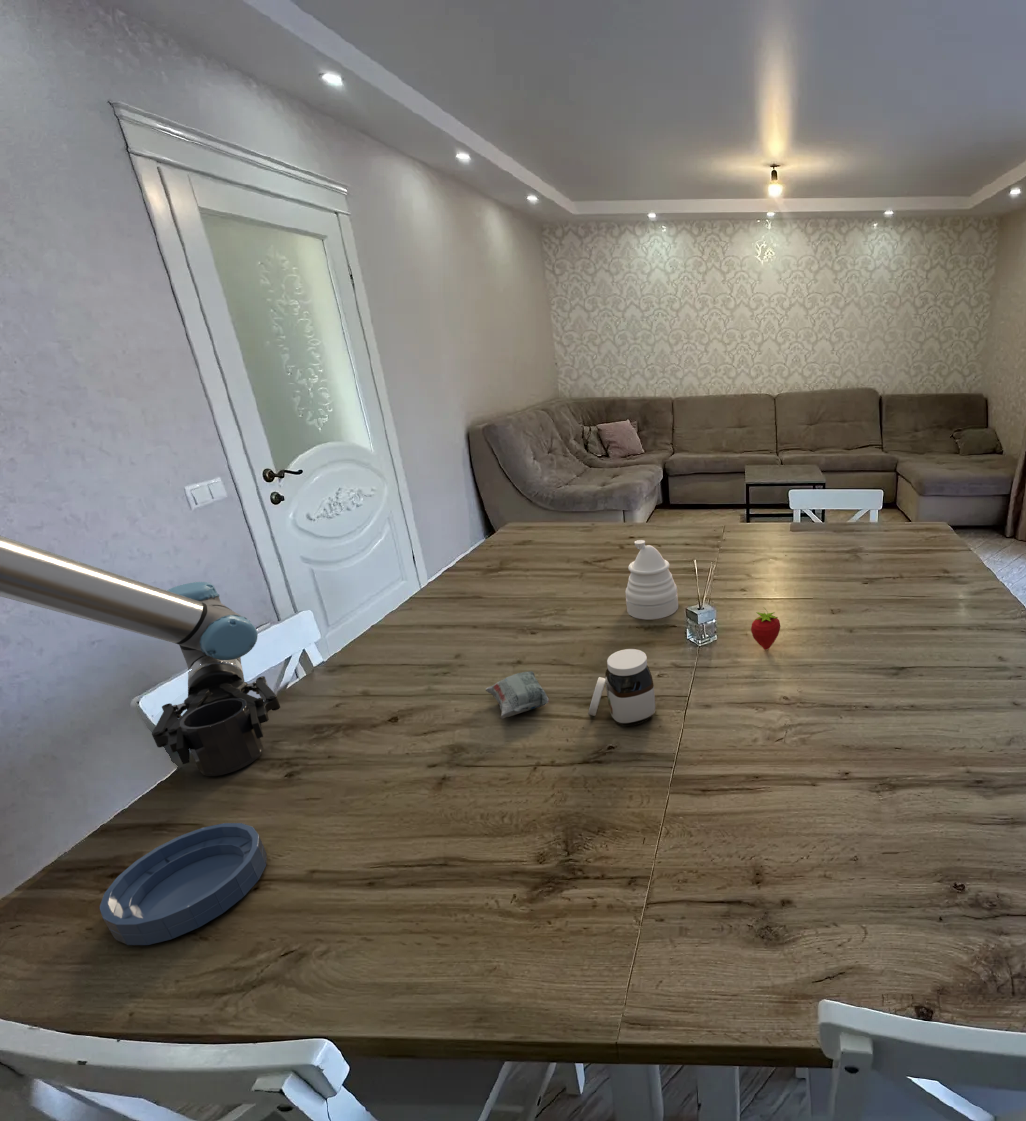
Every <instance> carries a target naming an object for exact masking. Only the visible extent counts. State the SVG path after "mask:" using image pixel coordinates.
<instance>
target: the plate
mask: <svg viewBox="0 0 1026 1121" xmlns="http://www.w3.org/2000/svg"><path fill="white" fill-rule="evenodd" d="M267 856H268V853H267V851H266V849H265V846H264V844H263V841H262V838H261V837H260V834H259V832H257V830H256V829H255V828H254V826H251V825H249V824H246V823H243V822H223V823H218V824H213V825H208V826H204V827H201V828H197V829H195V830H192V831H190V832H187V833H184V834H181V835H179V836H176V837H174V838H173V839H170V840H169V841H167V842H164V843H163V844H160V845H158V846H156V847H155V848H153V849H152V850H151V851H148V853H146V854H144V855H143V856H141V857H139V858H138V859H136V860H135V861H134V862H132V864H130V865H129V866H128V867H127V868H126V869H124V870H123V871H122V872H121V873H120V874H119V875H117V877H116V878H115V879H114V880H113V882H112V883H111V884H110V886H108V888H107V889H106V891H105V892H104V893H103V895H102V898H101V902H100V904H99V912H100V914H101V917H102V919H103V921H104V923H105V924H106V927H107V928H108V930H109V931H110V933H111V936H112V937H113V938H114V940H116V941H118V942H120V943H122V944H124V945H126V946H150V945H154V944H158V943H159V944H160V943H163V942H167V941H171V940H174V939H175V938H178V937H181V936H182V935H185V934H188V933H190V932H192V931H195V930H197V929H199V928H201V927H203V926H204V925H206V924H207V923H210V922H211V921H213V920H214V919H216V918H218V917H220V916H221V915H223V914H224V913H226V912H227V911H228V910H230V909H231V908H232V907H233V906H234V905H236V904H237V903H238V902H239V901H240V900H242V899H243V898H244V897H245V896H246V895H248V893H249V892H250V890H252V888H253V887H255V885H256V884H257V883H258V882H259V880H260V879H261V877H262V874H263V873H264V871H265V869H266V867H267V861H268V860H267Z"/></svg>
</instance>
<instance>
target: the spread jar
mask: <svg viewBox="0 0 1026 1121" xmlns="http://www.w3.org/2000/svg"><path fill="white" fill-rule="evenodd" d="M606 664H607V668H606V669H605V674H604V677H601V676H599V677H598V678H597V681H596V684H595V687H594V689H593V690H594V691H593V694H592V697H591V701H590V704H589V707H588V712H587V715H590V716H594V717H596V715H597V712H598V709H599V706H600V702H601V699H602V696H603V692H604V688H606V690H605V691H606V698H607V704H608V705H607V706H608V709H609V710H608V711H609V713H610V716H611V719H612V720H613V721H614V722H615V723H616V724H617V725H620V726H626V727H632V726H637V725H640V724H643V723H644V722H647V721H648V720H649V719H650V718H652V717H653V716H654V715H655V713H656V696H655V694H656V693H655V684H654V680H653V675H652V672H651V669H650V667H649V666H648V657H647V654H646V653H645V652H644V651H643V650H640V649H635V648H626V649H621V650H618V651H614V652H613V653H612V654H610V655H609V656H608V657H607V659H606Z"/></svg>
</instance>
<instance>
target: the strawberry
mask: <svg viewBox="0 0 1026 1121" xmlns="http://www.w3.org/2000/svg"><path fill="white" fill-rule="evenodd" d="M764 610H765V611H766V612H767V613H766V612H758V611H756V612H755V613H756V614H757V615H758V617H756V618H755V619H754V620H753V621H752V623H751V626H750V631H751V634H752V638H753V639H754V640H755V642H756V643H757V644H758V645H759V646H760V647H761V648H762V649H763V650H765V651H768V650H769V649H770V648H771V646H773V644H774V643H775V641H776V639H777V638H778V636H779V634H780V631H781V627H782V626H781V621H780V619H778V618H779V617H778V616H776V615H775V613H776V612H775V611H773V612H769V611H768V610H767V609H766V608H764Z"/></svg>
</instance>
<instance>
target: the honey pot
mask: <svg viewBox="0 0 1026 1121" xmlns="http://www.w3.org/2000/svg"><path fill="white" fill-rule="evenodd" d="M633 543H634V547H635V548H636V549H637V550H639V551H638V553H637V555H636V557H635V559H634V560H633V561H631V562H630V563H628V564H629V565H628V571H629V572H630V574H629V576H628V579H627V580H628V581H627V585H626V588H625V592H624V593H625V603H626V605H625V606H626V612H627V614H628V615H629V616H631V617H632V618H635V619H637V620H658V619H662V618H663V619H664V618H667V617H669V616H671V615H674V614H675V613H676V612H677V611H678V609H679V594H678V586H677V584H676V583H675V580H674V578H673V574H672V572H670V571H671V570H670V569H669V568H670V565H671V564H670V562H669V561H668V560H666V559H664V557H663V556H662V554H661V552H660V551H659V550H658V549H657V548H656V547H654V546H653V545H650V544H647V545H646V540H644V539H638V540H634V542H633Z"/></svg>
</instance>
